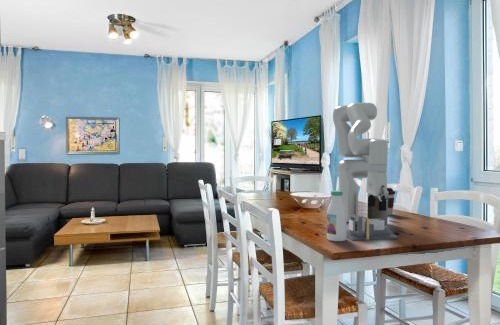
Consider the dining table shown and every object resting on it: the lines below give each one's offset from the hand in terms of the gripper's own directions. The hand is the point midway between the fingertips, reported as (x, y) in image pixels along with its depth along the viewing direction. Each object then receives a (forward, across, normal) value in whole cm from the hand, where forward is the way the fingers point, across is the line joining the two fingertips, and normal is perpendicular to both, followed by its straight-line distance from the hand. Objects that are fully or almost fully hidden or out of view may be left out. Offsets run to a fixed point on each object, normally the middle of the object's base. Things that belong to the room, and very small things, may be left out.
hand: (376, 208), depth 157 cm
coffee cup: (+14, -48, +30) cm, 58 cm away
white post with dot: (+9, +1, -5) cm, 10 cm away
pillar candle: (+13, -24, +13) cm, 30 cm away
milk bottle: (+12, +5, -20) cm, 23 cm away
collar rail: (+12, +1, -4) cm, 12 cm away
